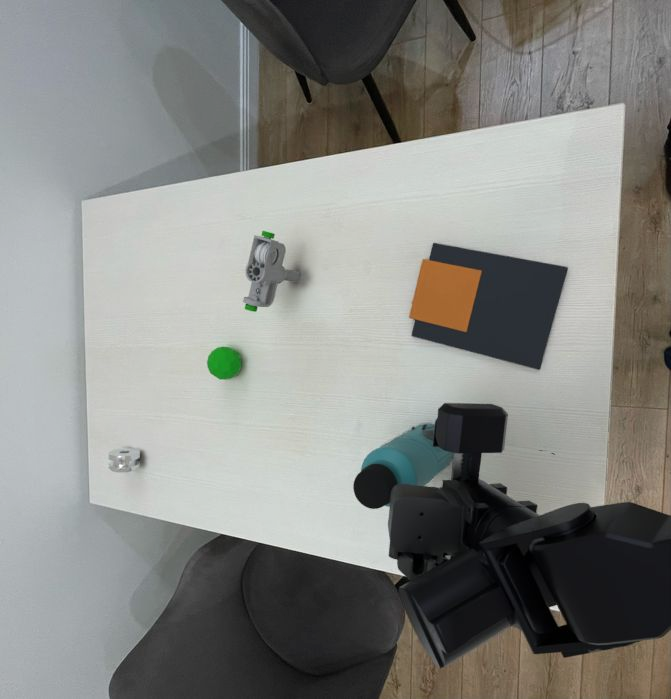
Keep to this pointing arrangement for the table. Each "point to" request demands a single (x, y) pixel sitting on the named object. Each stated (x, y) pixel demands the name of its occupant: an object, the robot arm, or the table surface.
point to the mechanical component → (266, 271)
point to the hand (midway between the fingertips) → (422, 474)
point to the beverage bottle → (399, 466)
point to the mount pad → (487, 303)
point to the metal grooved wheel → (124, 460)
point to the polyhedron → (224, 363)
